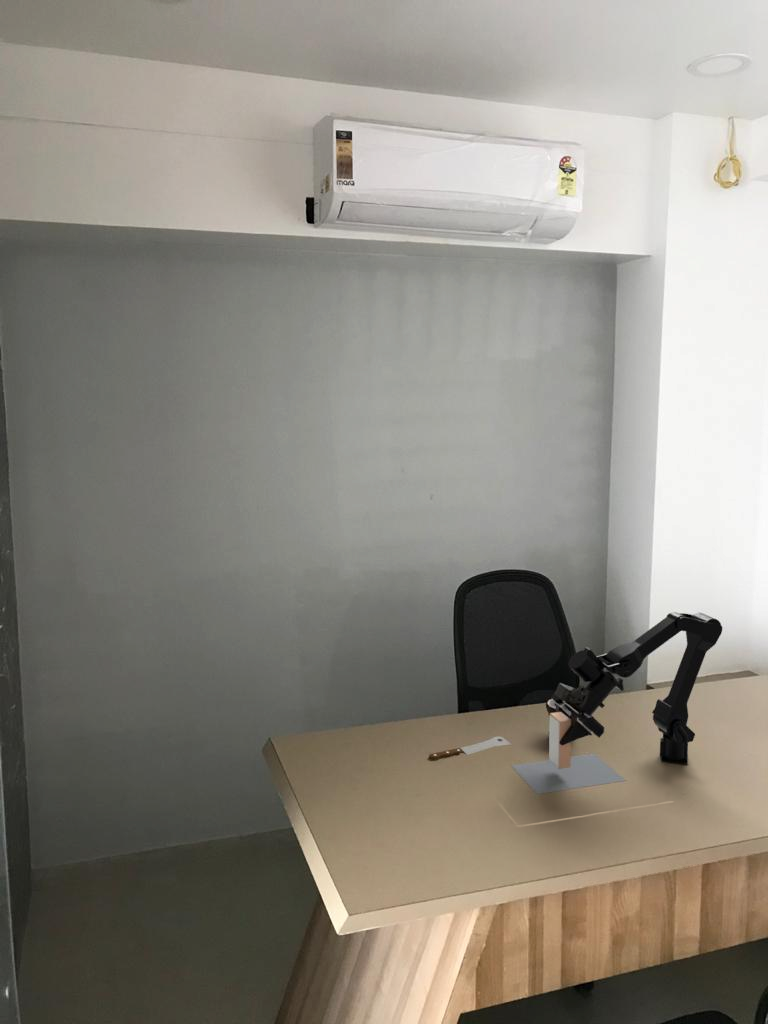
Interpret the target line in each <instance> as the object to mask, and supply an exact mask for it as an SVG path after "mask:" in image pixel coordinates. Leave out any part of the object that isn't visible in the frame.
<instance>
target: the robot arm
mask: <svg viewBox="0 0 768 1024" xmlns="http://www.w3.org/2000/svg"><path fill="white" fill-rule="evenodd" d="M680 632H685V637H686V648H685V649H684V652H683V655H682V658H681V661H680V663H679V666H678V669H677V670H676V671H677V672H676V673H675V676H674V679H673V683H672V685H671V687H670V690H669V692H668V695H667V696H666V697H665V698H664V699H662V700H661V699H660V698H658V699H657V700H656V701H655V703H656V704H655V706H654V709H653V710H652V711H651V713H652V714H653V715H652V720H653V723H654V725H655V726H656V727H657V729H658V731H659V732H660V733H662V737H660V739H659V741H660V742H659V756H660V757H661V758H660V759H661V762H662V763H663V762H664V763H671V764H678V765H686V766H687V765H688V763H689V759H688V757H689V754H688V753H689V749H688V748H689V743H692V742H693V741H694V739H695V736H696V734H695V732H694V731H693V730H692V729H691V728H689V726H687V724H688V721H689V709H688V701H689V699H690V696H691V694H692V691H693V688H694V685H695V683H696V680H697V678H698V675H699V673H700V670H701V668H702V665H703V662H704V660H705V657H706V654H707V652H709V650H710V649H712V648H713V647H714V646H715V645H716V644H717V642H718V640H719V638H720V637H721V635H722V632H723V626H722V623H721V622H720V620H718V619H716V618H714V617H712V616H710V615H707V614H705V613H703V612H697V613H694V614H690V613H685V612H684V613H683V612H682V613H680V612H677V611H676V612H675V611H672V612H669V613H668V614H667V615H666V617H664V618H663V619H662V620H660V621H659V622H658V623H656V624H655V625H654V626H652V627H651V628H650V629H648V630H646V631H645V632H644V633H642V634H641V635H640V636H639V637H637V638H636V639H634V640H633V641H630V642H629V643H625V644H620V645H618V646H616V647H614V648H612V649H611V650H609V651H608V652H607V653H603V654H601V655H596V654H595V653H594V652H593V650H592V649H591V648H589V647H585V648H584V649H583V650H580V651H577V652H576V653H573V654H572V655H571V656H570V657H569V659H568V668H570V670H571V671H573V673H574V674H576V675H577V676H578V677H579V678H580V679H581V680H582V681H583V682H585V683H586V684H585V686H583V685H579V686H578V687H577V688H576V687H573V686H569V685H567V684H564V683H562V682H559V684H558V685H557V688H556V691H555V692H554V693H553V694H552V696H551V697H550V698H551V699H553V700H554V701H555V702H556V703H557V704H556V703H555V706H556V712H562V713H563V714H564V715H566V716H567V717H568V718H569V719H570V720H571V722H572V723H571V726H570V727H569V729H568V730H567V732H566V733H565V734H564V736H563V737H562V739H561V740H560V742H559V743H560V744H561V745H565V744H567V743H570V742H571V743H572V742H574V741H577V740H579V739H582V738H585V737H589V736H590V737H592V736H593V734H594V735H595V736H596V737H597V738H599V739H600V738H601V737H602V736H603V735H604V733H605V726H603V725H602V724H601V722H599V721H598V720H597V719H596V718H595V717H594V716H593V715H594V713H595V712H596V710H597V709H598V708H599V707H600V708H601V709H603V708H604V707H605V706H606V705H605V704H604V701H605V700H606V699H607V698H608V697H609V695H610V694H611V693H612V692H613V691H614V690H615V689H618V690H620V691H622V692H623V691H624V684H623V683H624V680H623V678H625V679H628V678H630V677H632V676H633V675H634V674H635V673H636V672H637V671H638V670H639V669H640V668H641V667H642V665H643V662H644V660H645V659H646V658H647V657H648V656H649V655H651V654H652V653H653V652H655V651H656V650H657V649H659V648H660V647H661V646H663V645H664V644H665V643H666V642H668V641H670V639H672V638H673V637H675V636H676V635H677V634H679V633H680ZM604 670H606V671H604ZM614 674H615V675H617V676H618V677H617V676H615V675H614ZM620 677H621V678H620ZM576 710H577V711H576ZM572 714H574V715H575V716H576V717H577V720H576V719H574V718H573V717H572V718H571V717H570V715H572ZM591 732H592V733H591Z"/></svg>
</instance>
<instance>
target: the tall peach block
mask: <svg viewBox="0 0 768 1024" xmlns="http://www.w3.org/2000/svg"><path fill="white" fill-rule="evenodd" d="M570 726H571V720H570V719H569V718H568V717H567V716H566V715H564V714H563V713H562V712H555V713H550V722H549V731H548V735H549V736H548V737H549V738H548V739H549V740H548V741H549V744H548V751H549V752H548V753H549V755H548V756H549V757H548V760H550V761H551V762H553V763H554V764H555V765H556V766H557V767H558V768H559V769H563V768H570V762H571V757H572V756H571V754H572V753H571V752H572V750H571V749H572V748H571V747H572V742H570V743H567V744H565V745H561V744H560V743H559V742H560V740H561V739H562V737H563V736H564V734H565V733H566V732H567V730H568V729H569V727H570Z"/></svg>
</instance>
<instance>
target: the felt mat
mask: <svg viewBox="0 0 768 1024" xmlns="http://www.w3.org/2000/svg"><path fill="white" fill-rule="evenodd" d="M510 767H511V768H512V769H513V770H514V771H515V772H516V773H517V774H518V775H519V776H520V777H521V778H522V779H523V781H524V782H526V784H527V785H528V786H529V787H530V788H531V789H532V790H533V792H535V793H536V794H537V795H541V794H546V793H555V792H560V791H567V790H572V789H573V790H575V789H580V788H581V789H582V788H588V787H592V786H600V785H606V784H612V783H613V784H614V783H619V782H625V781H627V780H626V779H625V778H624V776H621V775H620V774H619V773H618V772H617V771H616V770H614V769H613V768H612V767H611V766H610V765H609V764H608V763H606V762H605V761H603V760H602V759H601V758H600V757H599V756H598V755H597V754H596V753H589V754H583V755H582V754H581V755H575V756H571V762H570V768H563V769H559V768H558V767H557V766H556V765H555V764H554V763H553V762H551V761H550V759H547V760H546V759H545V760H538V761H532V762H525V763H518V764H511V765H510Z"/></svg>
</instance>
